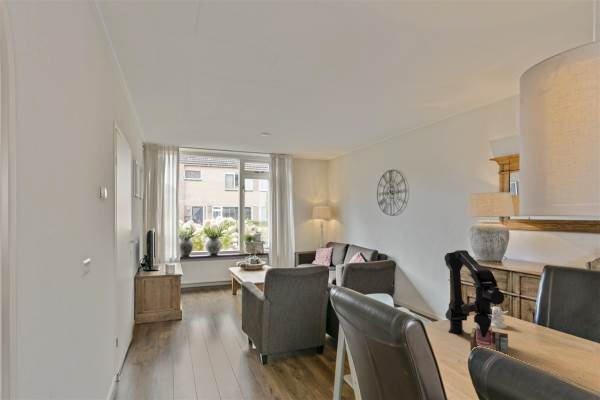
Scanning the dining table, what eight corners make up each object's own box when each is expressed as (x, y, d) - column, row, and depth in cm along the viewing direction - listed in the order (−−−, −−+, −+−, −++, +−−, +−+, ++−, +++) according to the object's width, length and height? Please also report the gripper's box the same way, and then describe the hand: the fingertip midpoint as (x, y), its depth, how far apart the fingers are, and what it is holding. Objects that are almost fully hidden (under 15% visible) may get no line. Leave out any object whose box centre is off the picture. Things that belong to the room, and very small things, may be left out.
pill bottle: (494, 348, 138) (494, 322, 139) (478, 347, 140) (478, 321, 140) (489, 343, 144) (489, 317, 145) (474, 342, 146) (473, 316, 146)
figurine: (512, 326, 174) (511, 306, 174) (504, 330, 168) (503, 309, 169) (488, 320, 183) (488, 301, 184) (480, 324, 178) (480, 304, 179)
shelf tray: (472, 340, 155) (472, 327, 155) (508, 346, 147) (507, 332, 148) (470, 350, 144) (470, 335, 144) (508, 357, 136) (508, 342, 137)
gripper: (464, 291, 155) (465, 325, 155) (460, 300, 139) (461, 338, 139) (491, 294, 149) (492, 329, 149) (490, 304, 133) (491, 343, 133)
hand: (484, 334), depth 142 cm, fingers closed on pill bottle, 6 cm apart
